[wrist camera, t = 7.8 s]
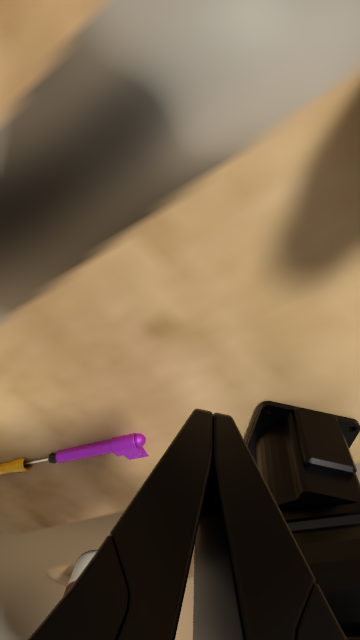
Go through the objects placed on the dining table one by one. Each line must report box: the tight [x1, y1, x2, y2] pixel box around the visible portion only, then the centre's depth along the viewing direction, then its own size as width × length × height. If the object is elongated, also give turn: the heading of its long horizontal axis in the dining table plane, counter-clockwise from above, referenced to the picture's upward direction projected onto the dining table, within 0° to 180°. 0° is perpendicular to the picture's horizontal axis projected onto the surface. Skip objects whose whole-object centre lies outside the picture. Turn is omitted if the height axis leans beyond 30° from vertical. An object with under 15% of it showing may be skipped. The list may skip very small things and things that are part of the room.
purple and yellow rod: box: [0, 433, 148, 475], centre depth 28 cm, size 3×1×16 cm
